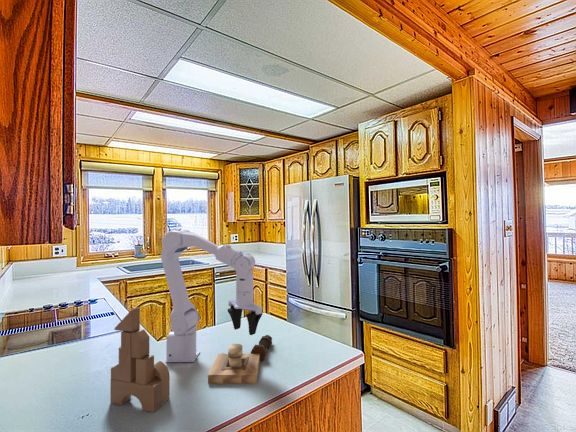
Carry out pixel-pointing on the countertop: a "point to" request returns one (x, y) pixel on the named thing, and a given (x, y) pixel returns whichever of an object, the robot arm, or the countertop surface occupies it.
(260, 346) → the bolt
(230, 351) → the peg
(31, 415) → the countertop surface
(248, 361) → the board
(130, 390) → the wooden toy
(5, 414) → the countertop surface
